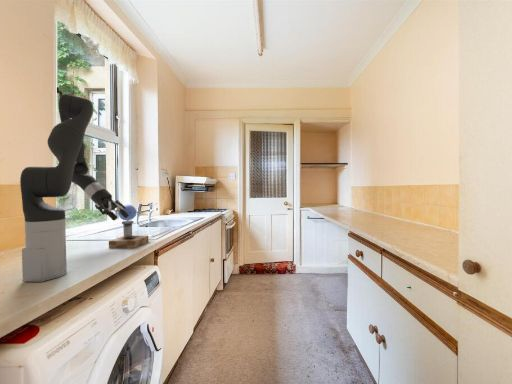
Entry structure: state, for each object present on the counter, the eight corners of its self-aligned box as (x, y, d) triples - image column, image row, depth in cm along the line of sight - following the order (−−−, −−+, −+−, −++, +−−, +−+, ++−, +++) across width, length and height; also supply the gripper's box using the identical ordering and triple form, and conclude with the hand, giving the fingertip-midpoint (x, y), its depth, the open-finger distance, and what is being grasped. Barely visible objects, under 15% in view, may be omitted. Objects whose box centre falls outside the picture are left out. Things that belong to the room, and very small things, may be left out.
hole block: (134, 247, 106) (134, 241, 106) (108, 247, 107) (108, 241, 107) (148, 241, 118) (148, 235, 118) (125, 241, 119) (125, 235, 119)
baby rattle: (119, 237, 128) (118, 204, 128) (137, 236, 132) (136, 203, 131) (117, 241, 120) (117, 205, 120) (136, 239, 124) (136, 204, 123)
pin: (130, 246, 110) (129, 222, 109) (120, 245, 110) (119, 222, 110) (136, 243, 114) (135, 220, 114) (126, 243, 115) (125, 220, 114)
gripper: (92, 188, 106) (117, 214, 105) (113, 188, 120) (135, 210, 119) (81, 200, 106) (106, 226, 105) (104, 198, 120) (126, 221, 120)
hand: (121, 218), depth 112 cm, fingers open, 8 cm apart
